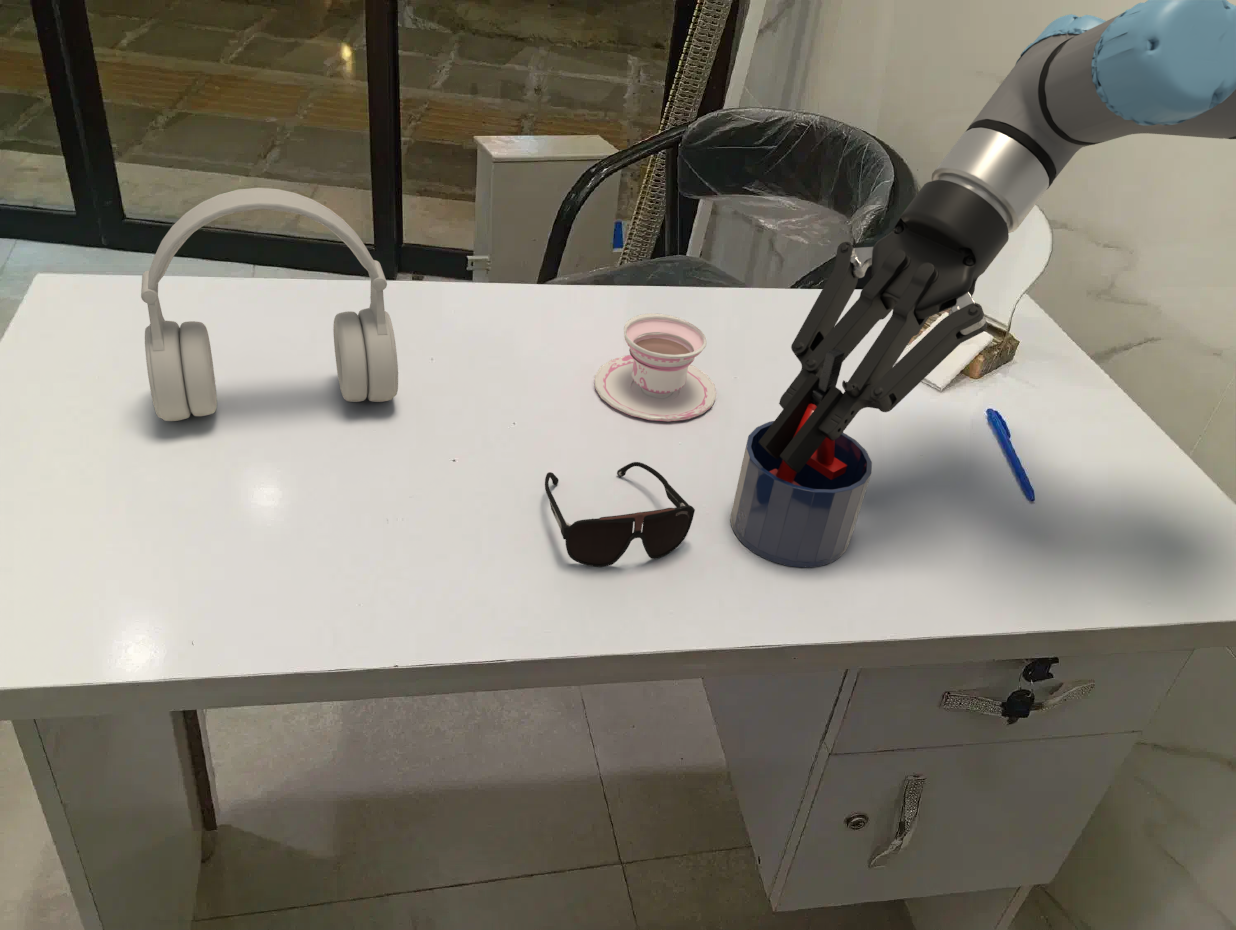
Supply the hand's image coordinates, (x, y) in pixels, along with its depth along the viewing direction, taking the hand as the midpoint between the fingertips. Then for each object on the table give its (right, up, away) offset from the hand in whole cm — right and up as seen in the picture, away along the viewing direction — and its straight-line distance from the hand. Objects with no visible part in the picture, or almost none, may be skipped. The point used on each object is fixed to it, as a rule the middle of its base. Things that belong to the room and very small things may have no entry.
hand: (778, 457), depth 75 cm
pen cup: (+2, -6, +7) cm, 9 cm away
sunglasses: (-13, -5, +6) cm, 15 cm away
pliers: (+3, -2, +4) cm, 5 cm away
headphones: (-42, +5, +14) cm, 45 cm away
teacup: (-9, +7, +23) cm, 25 cm away
